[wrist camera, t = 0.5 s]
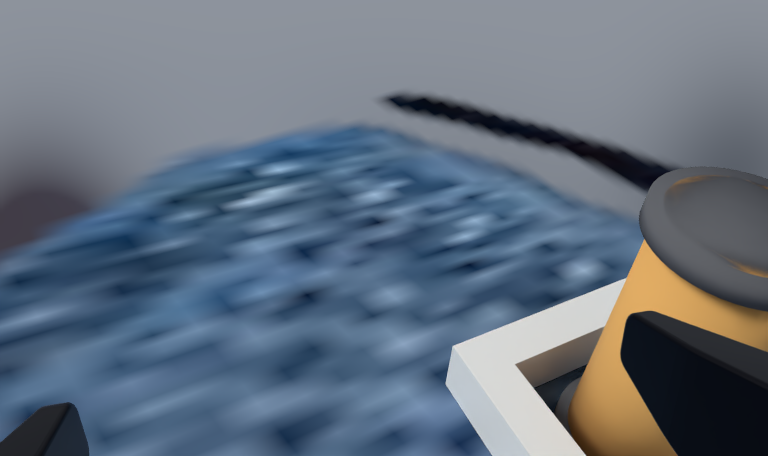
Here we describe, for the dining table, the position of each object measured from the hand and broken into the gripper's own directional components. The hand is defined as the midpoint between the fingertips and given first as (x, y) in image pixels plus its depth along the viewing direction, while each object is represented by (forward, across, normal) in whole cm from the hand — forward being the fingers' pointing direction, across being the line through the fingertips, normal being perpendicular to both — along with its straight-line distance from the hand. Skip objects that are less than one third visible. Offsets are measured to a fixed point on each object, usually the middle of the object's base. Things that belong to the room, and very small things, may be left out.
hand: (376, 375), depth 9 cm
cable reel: (+10, -13, +14) cm, 22 cm away
